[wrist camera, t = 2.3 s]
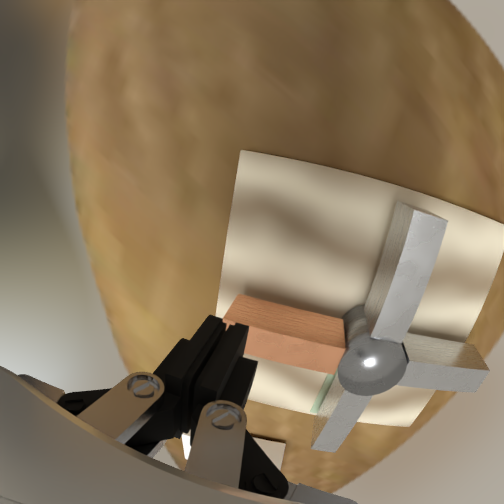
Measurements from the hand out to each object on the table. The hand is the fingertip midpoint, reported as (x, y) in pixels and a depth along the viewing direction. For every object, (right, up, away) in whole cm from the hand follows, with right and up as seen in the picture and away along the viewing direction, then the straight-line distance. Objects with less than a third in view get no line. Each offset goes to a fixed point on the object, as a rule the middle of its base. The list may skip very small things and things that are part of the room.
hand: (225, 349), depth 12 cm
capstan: (+11, -2, +11) cm, 16 cm away
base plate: (+10, -2, +13) cm, 17 cm away
